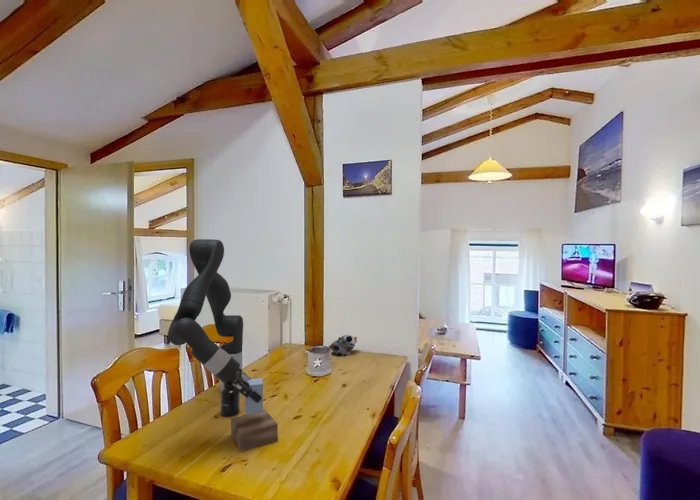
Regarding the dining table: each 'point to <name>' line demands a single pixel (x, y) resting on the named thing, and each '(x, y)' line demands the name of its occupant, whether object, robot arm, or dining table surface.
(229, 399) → the supplement bottle
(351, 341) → the grey toy figure
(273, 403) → the dining table surface
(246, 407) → the blue-gray rectangular block
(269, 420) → the walnut box
